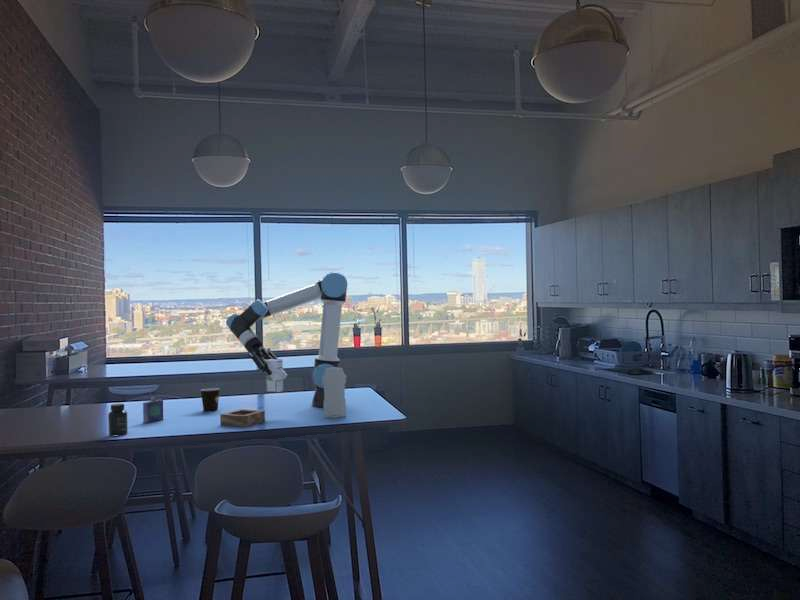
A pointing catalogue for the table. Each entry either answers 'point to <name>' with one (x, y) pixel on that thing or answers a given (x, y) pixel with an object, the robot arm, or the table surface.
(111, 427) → the supplement bottle
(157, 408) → the flask
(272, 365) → the white printed canister
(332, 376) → the tall pale column
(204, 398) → the coffee mug
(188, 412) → the table surface
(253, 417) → the socket block
